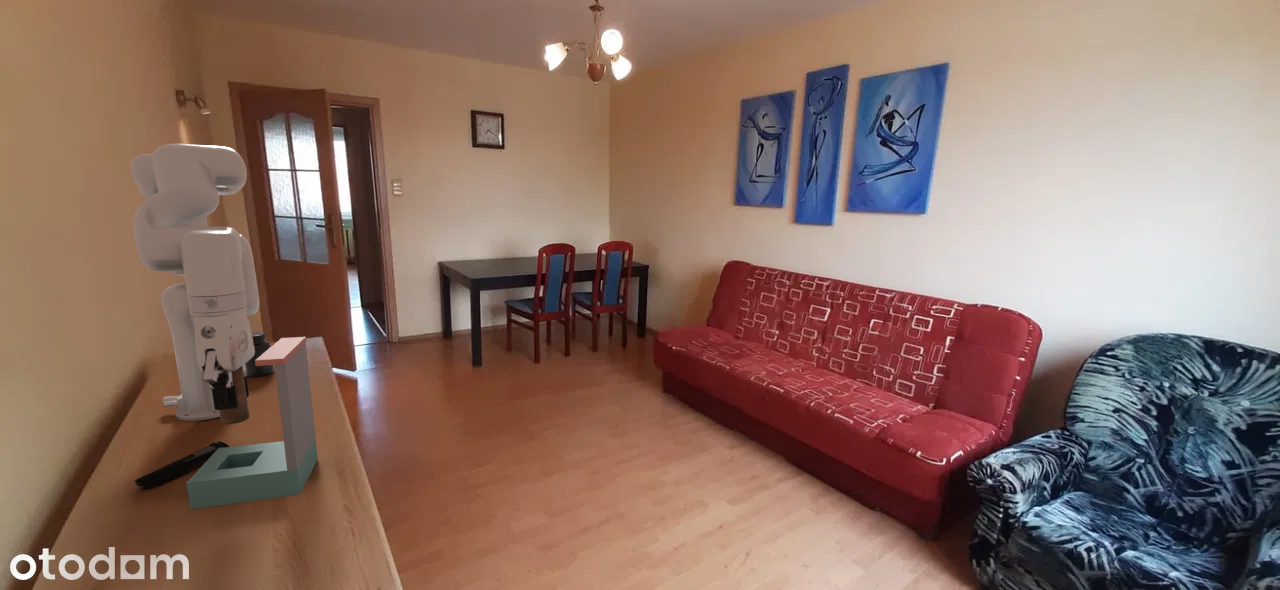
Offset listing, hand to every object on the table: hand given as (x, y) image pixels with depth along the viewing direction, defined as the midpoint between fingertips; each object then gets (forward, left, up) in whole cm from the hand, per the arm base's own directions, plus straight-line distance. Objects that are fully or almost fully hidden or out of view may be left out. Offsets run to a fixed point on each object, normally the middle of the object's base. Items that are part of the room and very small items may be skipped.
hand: (232, 402), depth 89 cm
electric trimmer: (-12, +9, -17) cm, 23 cm away
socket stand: (+2, 0, -16) cm, 17 cm away
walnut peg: (0, 0, -3) cm, 3 cm away
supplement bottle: (-18, +63, -17) cm, 68 cm away
